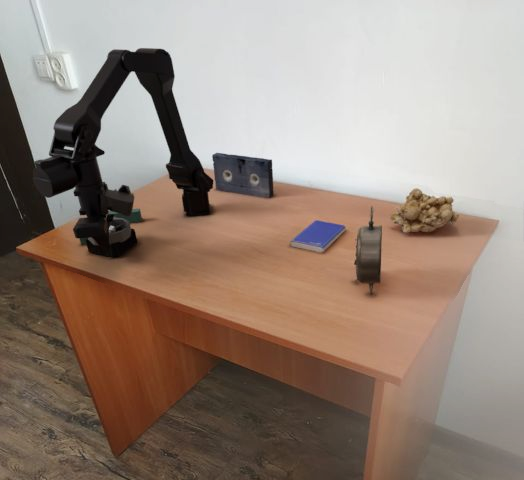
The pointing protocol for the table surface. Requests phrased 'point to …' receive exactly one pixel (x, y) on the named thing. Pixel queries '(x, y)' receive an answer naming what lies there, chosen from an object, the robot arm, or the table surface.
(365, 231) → the alarm clock
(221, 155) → the vhs cassette tape
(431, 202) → the mineral formation
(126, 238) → the cpu cooler
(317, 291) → the table surface
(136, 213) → the corner stop
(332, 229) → the blue book
